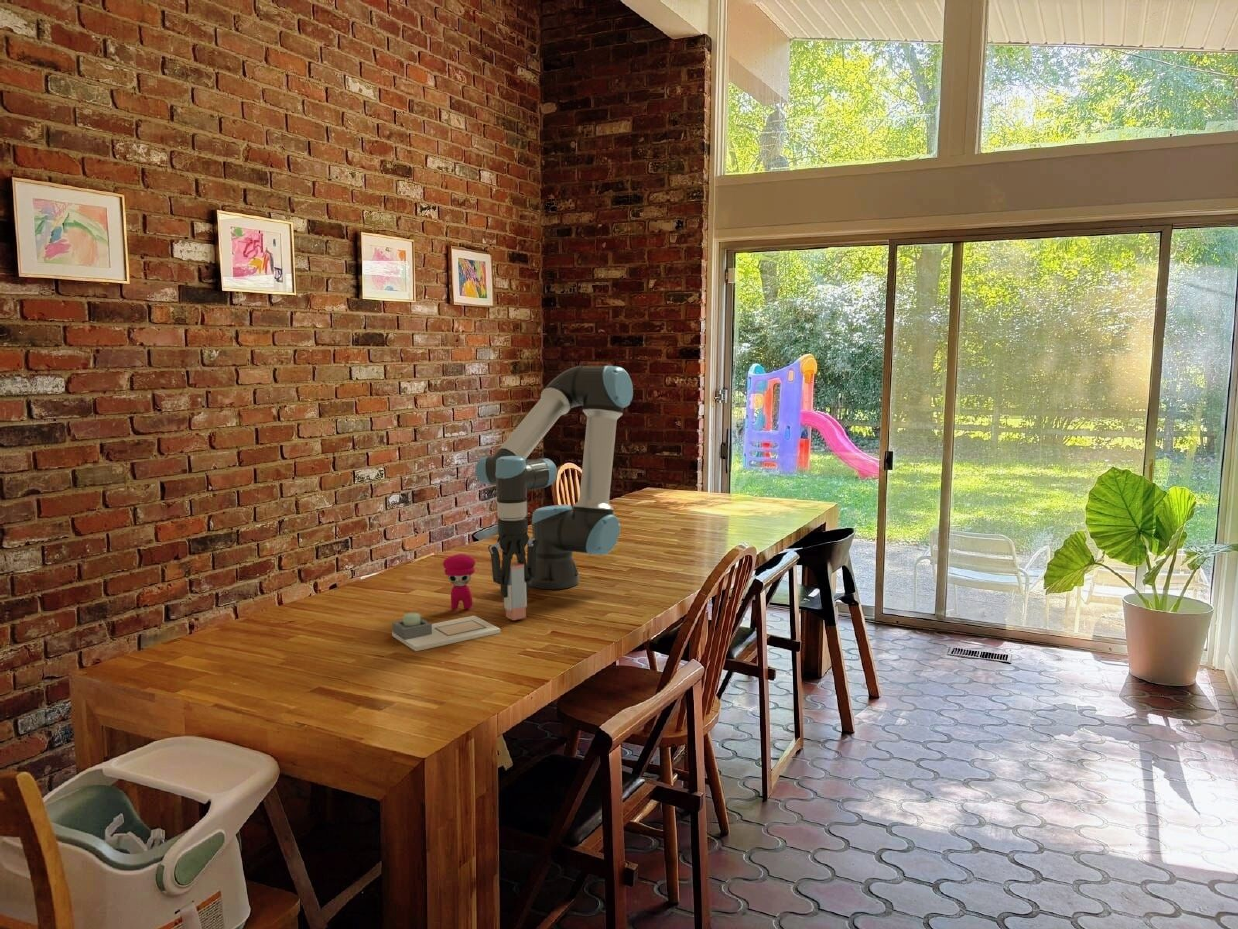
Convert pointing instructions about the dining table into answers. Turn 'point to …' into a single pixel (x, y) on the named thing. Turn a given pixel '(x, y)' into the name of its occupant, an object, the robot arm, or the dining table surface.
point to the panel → (442, 632)
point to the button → (411, 620)
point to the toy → (460, 578)
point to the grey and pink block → (517, 592)
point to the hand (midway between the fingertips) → (515, 607)
